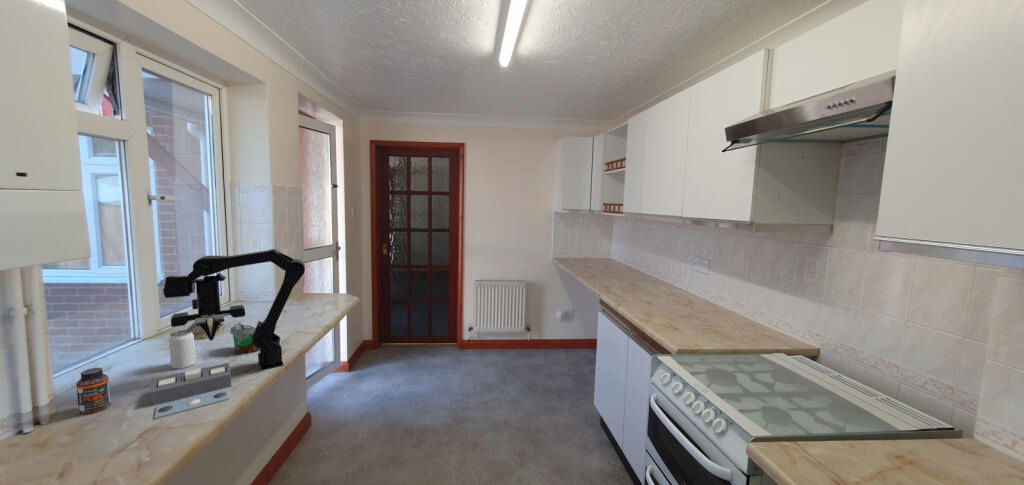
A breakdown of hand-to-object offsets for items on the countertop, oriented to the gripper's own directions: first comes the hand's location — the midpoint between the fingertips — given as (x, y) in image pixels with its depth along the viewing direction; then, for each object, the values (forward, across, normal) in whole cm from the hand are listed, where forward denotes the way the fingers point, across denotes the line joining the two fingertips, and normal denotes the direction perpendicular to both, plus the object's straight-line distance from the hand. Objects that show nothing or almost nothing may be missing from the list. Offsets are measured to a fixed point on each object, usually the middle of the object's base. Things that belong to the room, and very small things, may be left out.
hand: (211, 340), depth 122 cm
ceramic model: (+12, +2, -46) cm, 48 cm away
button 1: (+10, +11, +8) cm, 17 cm away
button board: (+12, +5, +8) cm, 15 cm away
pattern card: (+12, +5, +18) cm, 23 cm away
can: (+12, +8, -14) cm, 20 cm away
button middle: (+8, +5, +8) cm, 13 cm away
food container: (+12, -9, -16) cm, 22 cm away
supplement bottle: (+12, +26, +6) cm, 29 cm away
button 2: (+10, -1, +8) cm, 13 cm away
